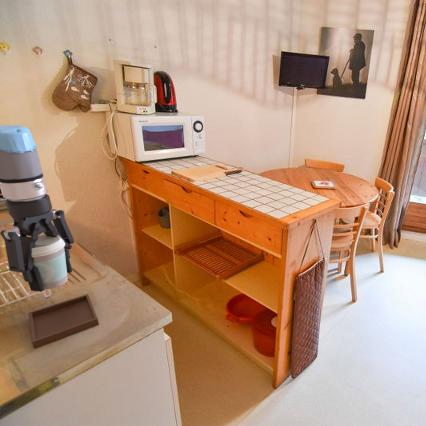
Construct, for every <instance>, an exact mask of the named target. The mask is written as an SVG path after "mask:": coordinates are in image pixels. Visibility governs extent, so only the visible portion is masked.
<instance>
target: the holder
mask: <svg viewBox="0 0 426 426" xmlns="http://www.w3.org/2000/svg"><path fill="white" fill-rule="evenodd" d="M96 313H97V312H96V311H95V308H94V306H93V303H92V300H91V298H90V295H89V294H88V293H87V294H83V295H80V296H77V297H74V298H70V299H66V300H63V301H61V302H58V303H54V304H51V305H48V306H44V307H41V308H39V309H35V310H32V311H29V312H27V314H28V322H29V327H30V328H29V329H30V336H31V343H32V346H33V349H37V348H40V347H42V346H45V345H48V344H51V343H53V342H56V341H59V340H61V339H65V338H67V337H70V336H73V335H75V334H78V333H80V332H83V331H86V330H89V329H91V328H94V327H96V326H99V325H100V322H99V319H98V316H97V314H96Z"/></svg>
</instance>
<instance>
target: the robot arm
mask: <svg viewBox="0 0 426 426" xmlns="http://www.w3.org/2000/svg"><path fill="white" fill-rule="evenodd" d="M0 191H1V194H2V197H3V199H5V206H6V208H7V211H8V214H9V216H10V217H11V218H12V219H13V224H12V227H11V228H9V229H7V230H5V229H3V230H1V231H0V236H1V237H2V239H3V240H4V244H5V252H6V256H7V263H8V269H9V271H10V272H16V273H21V274H22V277H23V280H24V281H25V282H26V283H28V286H29V288H30V292H31V291H32V292H38V293H42V292H44V291H45V289H44V288H43V285H42V282H41V278H40V275H39V272H38V269H37V267H33V261H34V258H33V257H32V255H31V254H32V248H35V242H36V241H37V240H38V236H40V235H42V233H43V235H46V236H50V237H57V236H60V237H61V239H62V240H63V241H64V242H65V246H64V250H65V259H66V268H67V274H71V273H73V268H72V263H71V260H70V259H71V254H70V250H71V249H72V248H73V246H72V245H73V244H75V239H74V237H73V234H72V232H71V230H70V227H69V225H68V223H67V221H66V217H65V210H64V209H63V210H62V209H56V208H55V209H54V208H53V204H52V201H51V197H50V195H49V194H48V187H47V184H46V180H45V176H44V173H43V169H42V165H41V161H40V156H39V153H38V148H37V144H36V142H35V140H34V137H33V135H32V132H31V130H30V129H29V128H28V127H26V126H23V125H11V124H1V125H0Z"/></svg>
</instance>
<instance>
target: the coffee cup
mask: <svg viewBox="0 0 426 426" xmlns="http://www.w3.org/2000/svg"><path fill="white" fill-rule="evenodd" d="M64 246H65V242H64V241H63V240H62V239H61V237H60V236H57V237H50V236H46V235H45V234H40V235H38V240H37V241H36V242H35V248H32V254H31V255H32V257H33V258H34V261H33V267H37V269H38V272H39V275H40V278H41V282H42V285H43V288H44V290H52V289H57V288H59V287H61V286H63V285H65V284H66V283H67V282H68V280H69V277H68V273H67V268H66V259H65V250H64Z"/></svg>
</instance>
